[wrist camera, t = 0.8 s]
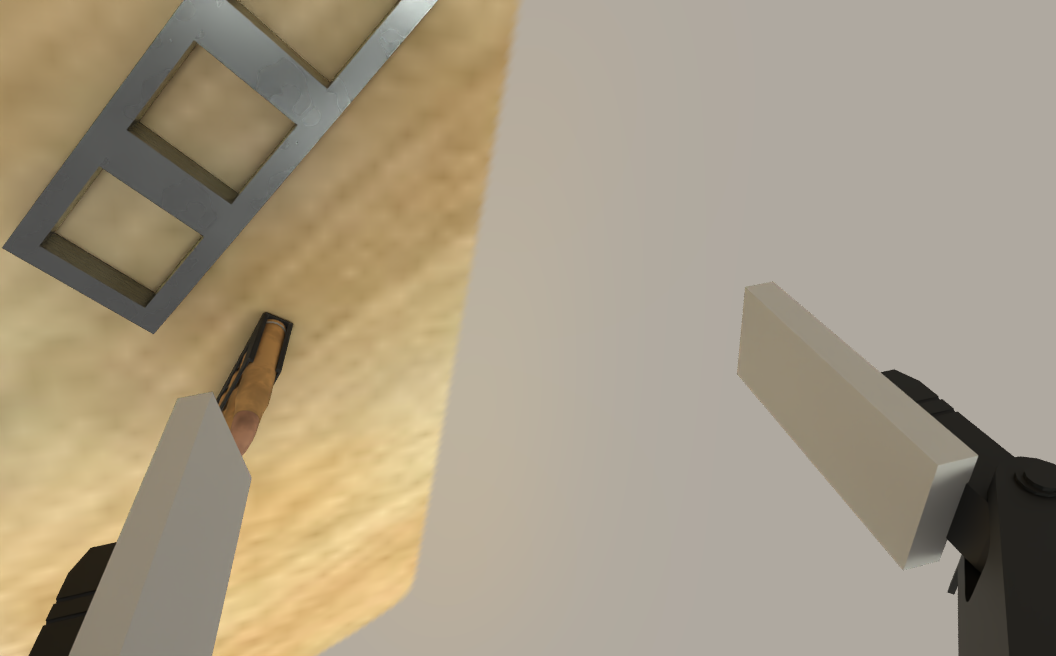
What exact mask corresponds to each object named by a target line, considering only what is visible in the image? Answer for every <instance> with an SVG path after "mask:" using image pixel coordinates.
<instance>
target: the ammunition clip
mask: <svg viewBox="0 0 1056 656" xmlns="http://www.w3.org/2000/svg"><path fill="white" fill-rule="evenodd" d="M292 327H293V324H292V323H290V322H288V321H285V320H283V319H281V318H278V317H276V316H274V315H271V314H269V313H267V312H265V313H263V315H262V317H261V319H260V320H259V322H258V324H257V326H256V328H255V330H254V331H253V333H252V335H251V337H250V339H249V341H248V342H247V344H246V346H245V348H244V350H243V352H242V353H241V355H240V357H239V359H238V361H237V363H236V364H235V366H234V368H233V370H232V372H231V374H230V375H229V377H228V379H227V381H226V383H225V385H224V386H223V388H222V390H221V392H220V394H219V396H218V397H217V399H216V401H217V403H218V405H219V407H220V409H221V412H222V414H223V416H224V418H225V420H226V423H227V425H228V427H229V429H230V431H231V434H232V436H233V438H234V440H235V442H236V445H237V447H238V449H239V451H240V453H241V456H242V455H243V454H244V453H245V452H246V450H247V449H248V447H249V446H250V444H251V442H252V441H253V438H254V436H255V434H256V431H257V428H258V425H259V423H260V420H261V417H262V414H263V413H264V411H265V410H266V408H267V406H268V404H269V400H270V396H271V393H272V389H273V385H274V383H275V382H276V380H277V378H278V376H279V375H280V373H281V370H282V366H283V362H284V359H285V355H286V351H287V347H288V343H289V339H290V335H291V331H292Z"/></svg>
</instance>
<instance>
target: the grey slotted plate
mask: <svg viewBox="0 0 1056 656" xmlns="http://www.w3.org/2000/svg"><path fill="white" fill-rule="evenodd" d="M437 1H438V0H399V1H398V2H397V3H396V4H395V6H394V7H393V8H392V9H391V10H390V12H389V13H388V14H387V15H386V16H385V18H384V19H383V20H382V21H381V22H380V24H379V25H378V26H377V27H376V28H375V30H374V31H373V32H372V33H371V34H370V36H369V37H368V38H367V39H366V40H365V42H364V43H363V44H362V45H361V46H360V48H359V49H358V50H357V51H356V52H355V54H354V55H353V56H352V57H351V58H350V60H349V61H348V62H347V63H346V64H345V66H344V67H343V68H342V69H341V70H340V72H339V73H338V74H337V75H336V76H335V78H334V79H333V80H332V81H331V82H329V81H327V80H326V79H325V78H324V77H323V76H322V75H321V74H320V73H318V72H317V71H316V70H315V69H314V68H313V67H312V66H310V65H309V64H308V63H307V62H306V61H305V60H304V59H303V58H301V57H300V56H299V55H298V54H297V53H296V52H295V51H294V50H292V49H291V48H290V47H289V46H288V45H287V44H286V43H284V42H283V41H282V40H281V39H280V38H279V37H278V36H277V35H275V34H274V33H273V32H272V31H271V30H270V29H269V28H267V27H266V26H265V25H264V24H263V23H262V22H261V21H260V20H258V19H257V18H256V17H255V16H254V15H253V14H252V13H251V12H249V11H248V10H247V9H246V8H245V7H244V6H243V5H241V4H240V3H239V2H238V1H237V0H183V2H182V3H181V5H180V6H179V7H178V9H177V10H176V11H175V13H174V14H173V15H172V17H171V18H170V20H169V21H168V22H167V24H166V25H165V26H164V28H163V29H162V30H161V32H160V33H159V35H158V36H157V37H156V39H155V40H154V41H153V43H152V44H151V45H150V47H149V48H148V50H147V51H146V52H145V54H144V55H143V56H142V58H141V59H140V60H139V62H138V63H137V65H136V66H135V67H134V69H133V70H132V71H131V73H130V74H129V75H128V77H127V78H126V80H125V81H124V82H123V84H122V85H121V86H120V88H119V89H118V90H117V92H116V93H115V95H114V96H113V97H112V99H111V100H110V101H109V103H108V104H107V105H106V107H105V108H104V110H103V111H102V112H101V114H100V115H99V116H98V118H97V119H96V120H95V122H94V123H93V125H92V126H91V127H90V129H89V130H88V131H87V133H86V134H85V135H84V137H83V138H82V140H81V141H80V142H79V144H78V145H77V146H76V148H75V149H74V150H73V152H72V153H71V155H70V156H69V157H68V159H67V160H66V161H65V163H64V164H63V165H62V167H61V168H60V170H59V171H58V172H57V174H56V175H55V176H54V178H53V179H52V180H51V182H50V183H49V185H48V186H47V187H46V189H45V190H44V191H43V193H42V194H41V195H40V197H39V198H38V200H37V201H36V202H35V204H34V205H33V206H32V208H31V209H30V210H29V212H28V213H27V215H26V216H25V217H24V219H23V220H22V221H21V223H20V224H19V225H18V227H17V228H16V230H15V231H14V232H13V234H12V235H11V236H10V238H9V239H8V240H7V242H6V243H5V245H4V246H3V247H2V248H3V249H5V250H7V251H8V252H10V253H12V254H14V255H15V256H17V257H19V258H21V259H22V260H24V261H26V262H28V263H29V264H31V265H33V266H35V267H36V268H38V269H40V270H42V271H43V272H45V273H47V274H49V275H50V276H52V277H54V278H56V279H57V280H59V281H61V282H63V283H64V284H66V285H68V286H70V287H71V288H73V289H75V290H77V291H79V292H80V293H82V294H84V295H86V296H87V297H89V298H91V299H93V300H94V301H96V302H98V303H100V304H101V305H103V306H105V307H107V308H108V309H110V310H112V311H114V312H115V313H117V314H119V315H121V316H122V317H124V318H126V319H128V320H129V321H131V322H133V323H135V324H136V325H138V326H140V327H142V328H143V329H145V330H147V331H149V332H151V333H152V334H154V333H155V332H156V331H157V330H158V329H159V327H160V326H161V325H162V324H163V323H164V321H165V320H166V319H167V318H168V317H169V316H170V314H171V313H172V312H173V311H174V310H175V309H176V307H177V306H178V305H179V304H180V303H181V302H182V300H183V299H184V298H185V297H186V296H187V294H188V293H189V292H190V291H191V290H192V289H193V287H194V286H195V285H196V284H197V283H198V282H199V280H200V279H201V278H202V277H203V276H204V274H205V273H206V272H207V271H208V270H209V269H210V267H211V266H212V265H213V264H214V263H215V262H216V260H217V259H218V258H219V257H220V256H221V254H222V253H223V252H224V251H225V250H226V249H227V247H228V246H229V245H230V244H231V243H232V242H233V240H234V239H235V238H236V237H237V236H238V235H239V233H240V232H241V231H242V230H243V229H244V227H245V226H246V225H247V224H248V223H249V222H250V220H251V219H252V218H253V217H254V216H255V215H256V213H257V212H258V211H259V210H260V209H261V207H262V206H263V205H264V204H265V203H266V202H267V200H268V199H269V198H270V197H271V196H272V195H273V193H274V192H275V191H276V190H277V189H278V187H279V186H280V185H281V184H282V183H283V182H284V180H285V179H286V178H287V177H288V176H289V175H290V173H291V172H292V171H293V170H294V169H295V168H296V166H297V165H298V164H299V163H300V162H301V160H302V159H303V158H304V157H305V156H306V155H307V153H308V152H309V151H310V150H311V149H312V148H313V146H314V145H315V144H316V143H317V142H318V140H319V139H320V138H321V137H322V136H323V135H324V133H325V132H326V131H327V130H328V129H329V128H330V126H331V125H332V124H333V123H334V122H335V120H336V119H337V118H338V117H339V116H340V115H341V113H342V112H343V111H344V110H345V109H346V108H347V106H348V105H349V104H350V103H351V102H352V101H353V99H354V98H355V97H356V96H357V95H358V93H359V92H360V91H361V90H362V89H363V88H364V86H365V85H366V84H367V83H368V82H369V81H370V79H371V78H372V77H373V76H374V75H375V73H376V72H377V71H378V70H379V69H380V68H381V66H382V65H383V64H384V63H385V62H386V61H387V59H388V58H389V57H390V56H391V55H392V53H393V52H394V51H395V50H396V49H397V48H398V46H399V45H400V44H401V43H402V42H403V41H404V39H405V38H406V37H407V36H408V35H409V34H410V32H411V31H412V30H413V29H414V28H415V26H416V25H417V24H418V23H419V22H420V21H421V19H422V18H423V17H424V16H425V15H426V14H427V12H428V11H429V10H430V9H431V8H432V6H433V5H434V4H435V3H436V2H437ZM197 43H198V44H199V45H201V46H202V47H203V48H204V49H205V50H207V51H208V52H209V53H210V54H212V55H213V56H214V57H215V58H216V59H218V60H219V61H220V62H221V63H222V64H224V65H225V66H226V67H227V68H229V69H230V70H231V71H232V72H233V73H235V74H236V75H237V76H238V77H240V78H241V79H242V80H243V81H244V82H246V83H247V84H248V85H249V86H250V87H252V88H253V89H254V90H255V91H257V92H258V93H259V94H260V95H261V96H263V97H264V98H265V99H266V100H267V101H269V102H270V103H271V104H272V105H274V106H275V107H276V108H277V109H278V110H280V111H281V112H282V113H283V114H285V115H286V116H287V117H288V118H289V119H291V120H292V121H293V122H294V123H295V124H296V125H295V126H294V127H293V128H292V129H291V131H290V132H289V133H288V134H287V135H286V137H285V138H284V139H283V140H282V141H281V143H280V144H279V145H278V146H277V147H276V149H275V150H274V151H273V152H272V153H271V155H270V156H269V157H268V158H267V159H266V161H265V162H264V163H263V164H262V165H261V167H260V168H259V169H258V170H257V171H256V173H255V174H254V175H253V176H252V177H251V179H250V180H249V181H248V182H247V183H246V185H245V186H244V187H243V188H242V189H241V191H240V192H239V193H236V192H235V191H233V190H232V189H231V188H229V187H228V186H227V185H225V184H224V183H222V182H221V181H220V180H218V179H217V178H216V177H214V176H213V175H211V174H210V173H209V172H207V171H206V170H205V169H203V168H202V167H200V166H199V165H198V164H196V163H195V162H193V161H192V160H191V159H189V158H188V157H187V156H185V155H184V154H182V153H181V152H180V151H178V150H177V149H176V148H174V147H173V146H171V145H170V144H169V143H167V142H166V141H165V140H163V139H162V138H160V137H159V136H158V135H156V134H155V133H154V132H152V131H151V130H149V129H148V128H147V127H145V126H144V125H142V124H141V123H140V122H139V120H140V119H141V118H142V116H143V115H144V114H145V112H146V111H147V110H148V108H149V107H150V106H151V104H152V103H153V102H154V100H155V99H156V98H157V96H158V95H159V94H160V92H161V91H162V90H163V88H164V87H165V86H166V84H167V83H168V82H169V81H170V79H171V78H172V77H173V75H174V74H175V73H176V71H177V70H178V69H179V67H180V66H181V65H182V63H183V62H184V61H185V59H186V58H187V57H188V55H189V54H190V53H191V51H192V50H193V49H194V47H195V46H196V45H197ZM102 169H104V170H106V171H107V172H109V173H110V174H112V175H113V176H115V177H116V178H118V179H119V180H121V181H122V182H124V183H125V184H126V185H128V186H129V187H131V188H132V189H134V190H135V191H137V192H138V193H140V194H141V195H143V196H144V197H146V198H147V199H149V200H150V201H152V202H153V203H155V204H156V205H158V206H159V207H161V208H162V209H164V210H165V211H167V212H168V213H170V214H171V215H173V216H174V217H176V218H177V219H179V220H180V221H182V222H183V223H185V224H186V225H188V226H189V227H191V228H192V229H194V230H195V231H197V232H198V233H200V234H201V235H202V237H201V239H200V240H199V241H198V242H197V243H196V245H195V246H194V247H193V248H192V249H191V251H190V252H189V253H188V254H187V255H186V257H185V258H184V259H183V260H182V261H181V263H180V264H179V265H178V266H177V267H176V269H175V270H174V271H173V272H172V273H171V275H170V276H169V277H168V278H167V279H166V281H165V282H164V283H163V284H162V285H161V287H160V288H159V289H158V290H157V291H156V293H154V292H152V291H150V290H149V289H147V288H145V287H144V286H142V285H140V284H139V283H137V282H135V281H134V280H132V279H130V278H129V277H127V276H125V275H124V274H122V273H120V272H119V271H117V270H115V269H114V268H112V267H110V266H109V265H107V264H105V263H104V262H102V261H100V260H99V259H97V258H95V257H94V256H92V255H90V254H89V253H87V252H85V251H84V250H82V249H80V248H79V247H77V246H75V245H74V244H72V243H70V242H69V241H67V240H66V239H64V238H62V237H61V236H59V235H57V234H56V233H55V232H56V230H57V229H58V228H59V226H60V225H61V224H62V222H63V221H64V220H65V218H66V217H67V216H68V214H69V213H70V212H71V210H72V209H73V208H74V206H75V205H76V204H77V202H78V201H79V200H80V198H81V197H82V196H83V194H84V193H85V192H86V190H87V189H88V188H89V186H90V185H91V184H92V183H93V181H94V180H95V179H96V177H97V176H98V175H99V173H100V172H101V171H102Z"/></svg>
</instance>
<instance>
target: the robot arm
mask: <svg viewBox="0 0 1056 656" xmlns="http://www.w3.org/2000/svg"><path fill="white" fill-rule="evenodd" d="M737 374H738V376H739V377H740V378H741V379H742V380H743V382H744V383H745V384H746V385H747V386H748V387H749V388H750V390H751V391H752V392H753V393H754V395H755V396H756V397H757V398H758V399H759V400H760V402H761V403H762V404H763V405H764V406H765V408H766V409H767V410H768V411H769V412H770V413H771V415H772V416H773V417H774V418H775V419H776V421H777V422H778V423H779V424H780V425H781V427H782V428H783V429H784V430H785V431H786V432H787V433H788V435H789V436H790V437H791V438H792V440H793V441H794V442H795V443H796V444H797V445H798V447H799V448H800V449H801V450H802V451H803V452H804V454H805V455H806V456H807V457H808V458H809V460H810V461H811V462H812V463H813V464H814V465H815V467H816V468H817V469H818V470H819V471H820V473H821V474H822V475H823V476H824V477H825V479H826V480H827V481H828V482H829V483H830V484H831V486H832V487H833V488H834V489H835V490H836V492H837V493H838V494H839V495H840V496H841V497H842V498H843V500H844V501H845V502H846V503H847V505H848V506H849V507H850V508H851V509H852V510H853V512H854V513H855V514H856V515H857V516H858V518H859V519H860V520H861V521H862V522H863V523H864V525H865V526H866V527H867V528H868V529H869V531H870V532H871V533H872V534H873V535H874V536H875V538H876V539H877V540H878V541H879V542H880V544H881V545H882V546H883V547H884V548H885V549H886V551H887V552H888V553H889V554H890V555H891V557H892V558H893V559H894V560H895V561H896V562H897V564H898V565H899V566H900V567H901V568H902V569H903V570H907V569H911V568H915V567H918V566H922V565H926V564H929V563H933V562H937V561H939V560H940V558H941V555H942V552H943V549H944V547H945V544H946V541H947V539H948V540H949V541H950V542H951V543H952V545H953V546H954V547H955V548H956V549H957V550H958V551H959V552H960V553H961V554H962V556H961V558H960V561H959V563H958V566H957V568H956V571H955V573H954V576H953V579H952V581H951V583H950V586H949V589H948V593H951V594H955V591H956V589H957V587H958V638H959V639H958V640H959V641H958V642H959V643H958V644H959V656H1056V465H1055V464H1053V463H1050V462H1046V461H1043V460H1040V459H1037V458H1029V457H1014V456H1012V455H1011V454H1010V453H1009V452H1007V451H1006V450H1005V449H1004V448H1002V447H1001V446H1000V445H998V444H997V443H996V442H995V441H994V440H992V439H991V438H990V437H989V436H987V435H986V434H985V433H984V432H982V431H981V430H980V429H979V428H977V427H976V426H975V425H974V424H972V423H971V422H970V421H968V420H967V419H966V418H965V417H964V416H962V415H961V414H960V413H959V412H955V411H954V409H953V408H952V407H951V406H950V405H949V404H948V403H946V402H945V401H944V400H942V399H941V400H940V399H939V398H938V396H937V395H936V394H935V393H934V392H932V391H931V390H930V389H929V388H928V387H926V386H925V385H924V384H922V383H921V382H920V381H918V380H916V379H914V378H912V377H910V376H907V375H905V374H903V373H901V372H899V371H897V370H890V371H885V372H879V371H878V370H877V369H876V368H874V367H873V366H872V365H871V364H870V363H869V362H867V361H866V360H865V359H864V358H863V357H861V356H860V355H859V354H858V353H857V352H856V351H854V350H853V349H852V348H851V347H850V346H848V345H847V344H846V343H845V342H844V341H843V340H842V339H840V338H839V337H838V336H837V335H836V334H834V333H833V332H832V331H831V330H830V329H829V328H827V327H826V326H825V325H824V324H823V323H821V322H820V321H819V320H818V319H817V318H816V317H814V316H813V315H812V314H811V313H810V312H808V311H807V310H806V309H805V308H804V307H803V306H801V305H800V304H799V303H798V302H797V301H795V300H794V299H793V298H792V297H791V296H790V295H788V294H787V293H786V292H785V291H783V290H782V289H781V288H780V287H779V286H778V285H776V284H775V283H774V282H769V283H763V284H758V285H753V286H748V287H745V294H744V306H743V316H742V327H741V337H740V349H739V359H738V369H737ZM250 483H251V475H250V473H249V471H248V469H247V467H246V464H245V462H244V460H243V458H242V456H241V453H240V451H239V449H238V447H237V445H236V442H235V440H234V438H233V436H232V434H231V431H230V429H229V427H228V425H227V423H226V420H225V418H224V416H223V414H222V412H221V409H220V407H219V405H218V403H217V401H216V399H215V396H214V394H213V392H208V393H203V394H198V395H193V396H188V397H183V398H178V399H177V401H176V404H175V406H174V408H173V411H172V413H171V415H170V418H169V420H168V422H167V425H166V427H165V430H164V432H163V434H162V437H161V439H160V441H159V444H158V446H157V448H156V451H155V453H154V455H153V458H152V460H151V463H150V465H149V467H148V470H147V472H146V474H145V477H144V479H143V481H142V484H141V486H140V488H139V491H138V493H137V496H136V498H135V500H134V503H133V505H132V507H131V510H130V512H129V514H128V517H127V519H126V522H125V524H124V526H123V529H122V531H121V533H120V536H119V538H118V540H117V542H115V543H111V544H106V545H102V546H97V547H92V548H90V549H89V550H88V552H87V553H86V554H85V555H84V556H83V557H82V558H81V559H80V561H79V562H78V563H77V564H76V565H75V566H74V567H73V568H72V570H71V571H70V572H69V573H68V575H67V577H66V579H65V581H64V583H63V585H62V587H61V589H60V592H59V594H58V596H57V598H56V600H57V602H56V604H53V606H52V608H51V610H50V612H49V614H48V617H47V619H46V625H44V626H43V627H42V629H41V631H40V633H39V635H38V637H37V639H36V642H35V644H34V646H33V648H32V650H31V652H30V654H29V656H212V653H213V648H214V644H215V640H216V635H217V631H218V626H219V622H220V617H221V613H222V608H223V604H224V599H225V595H226V590H227V586H228V581H229V577H230V572H231V568H232V563H233V559H234V554H235V550H236V546H237V541H238V537H239V532H240V528H241V523H242V519H243V514H244V510H245V505H246V501H247V496H248V492H249V487H250Z"/></svg>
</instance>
